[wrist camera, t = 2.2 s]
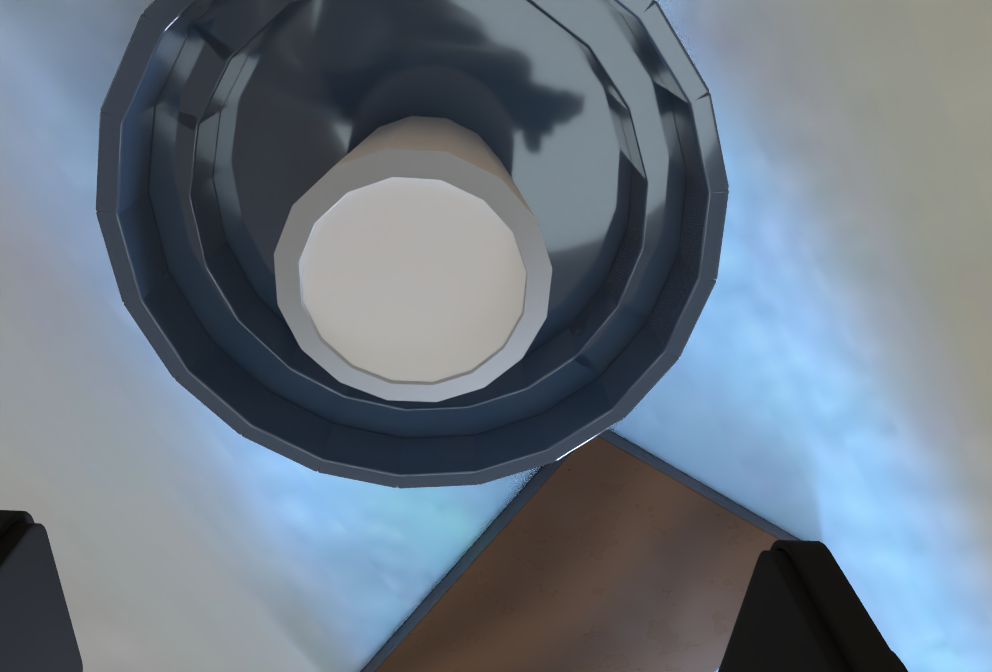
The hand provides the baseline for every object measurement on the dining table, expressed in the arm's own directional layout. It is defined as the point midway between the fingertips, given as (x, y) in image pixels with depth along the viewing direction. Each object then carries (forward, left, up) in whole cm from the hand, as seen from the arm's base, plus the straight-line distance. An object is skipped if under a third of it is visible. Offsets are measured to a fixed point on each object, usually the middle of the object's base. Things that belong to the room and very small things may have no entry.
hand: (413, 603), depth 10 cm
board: (+16, -14, -17) cm, 27 cm away
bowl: (-1, 0, -17) cm, 17 cm away
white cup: (-1, 0, -16) cm, 16 cm away
